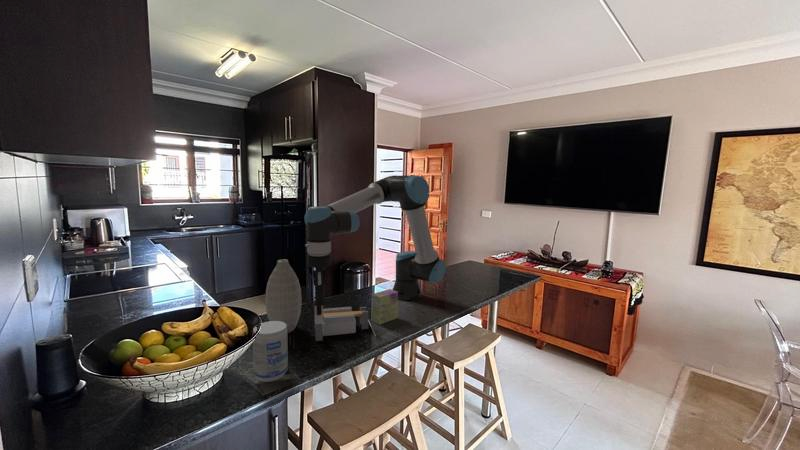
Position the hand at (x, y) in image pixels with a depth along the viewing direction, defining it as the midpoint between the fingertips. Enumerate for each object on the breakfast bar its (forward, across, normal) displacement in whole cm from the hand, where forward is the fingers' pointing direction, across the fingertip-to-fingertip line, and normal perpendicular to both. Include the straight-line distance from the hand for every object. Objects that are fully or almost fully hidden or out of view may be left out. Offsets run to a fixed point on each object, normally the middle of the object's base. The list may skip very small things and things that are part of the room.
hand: (318, 322), depth 109 cm
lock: (+9, -9, 0) cm, 13 cm away
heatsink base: (+10, -14, +9) cm, 20 cm away
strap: (+4, -14, +9) cm, 17 cm away
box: (+10, -21, +28) cm, 36 cm away
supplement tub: (+11, +10, -14) cm, 20 cm away
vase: (+11, -18, -12) cm, 24 cm away
